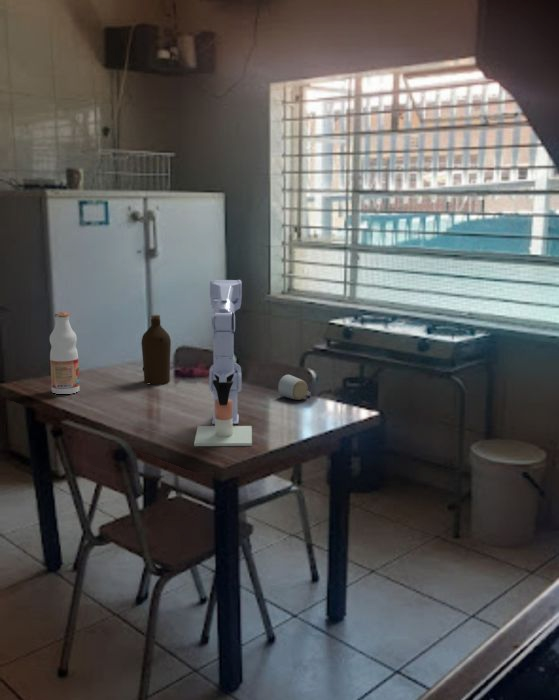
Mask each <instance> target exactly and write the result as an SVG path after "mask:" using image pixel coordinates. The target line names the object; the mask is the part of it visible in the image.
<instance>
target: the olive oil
mask: <svg viewBox="0 0 559 700" xmlns="http://www.w3.org/2000/svg"><path fill="white" fill-rule="evenodd" d="M150 324H151V325H150V326H149V328H148V329H147V330H146V331H144V333H143V335H142V338H141V351H142V352H141V353H142V364H143V365H142V371H143V381H144V383H145V382H146V383H150V384H149V385H151V384H161V385H165V384H164V383H166V384H169V383H170V382H171V349H172V346H171V345H172V340H171V337H170V335H169V333H168V332H167V331H166V330H165V328H163V326H162V325H161V315H159V314H152V315H151V316H150ZM168 382H169V383H168ZM146 383H145V384H146Z"/></svg>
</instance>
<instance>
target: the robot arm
mask: <svg viewBox="0 0 559 700" xmlns="http://www.w3.org/2000/svg"><path fill="white" fill-rule="evenodd" d="M242 284H243V282H242V280H241V279H235V280H234V279H211V280H210V282H209V297H210V305H211V308H212V309H213V314H211V332H212V340H213V344H212V345H213V347H212V348H213V350H212V351H213V354H212V355H213V364H212V365H210V368H209V370H208V371H209V372H208V373H209V375H208V377H209V378H208V388H209V391H210V392H211V393H212V395H213V414H212V415H213V416H212V422H211V423H212V425H215V400H216V399H218V400H219V404H220V405H227V403H228V399H231V400H232V401H233V425H238V424H239V423H240V422H239V420H240V419H239V418H240V414H239V413H238V395H239V394H238V392H239V393H240V392H241V391H242V367H241V366H240V365H239V363H236V362H235V360H234V358H235V356H234V355H235V354H234V353H235V351H234V347H235V346H234V343H235V341H234V340H235V338H234V337H235V336H234V335H235V334H234V333H235V331H236V315H235V313H236V311H238V310H239V309H241V305H242V298H243V288H242V287H243V285H242Z"/></svg>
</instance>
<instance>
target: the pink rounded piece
mask: <svg viewBox="0 0 559 700" xmlns="http://www.w3.org/2000/svg"><path fill="white" fill-rule="evenodd" d="M215 418H216V419H218V420H229V419H232V418H233V401H232V400H231V399H228V403H227V405H220V404H219V400H218V399H216V400H215Z"/></svg>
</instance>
